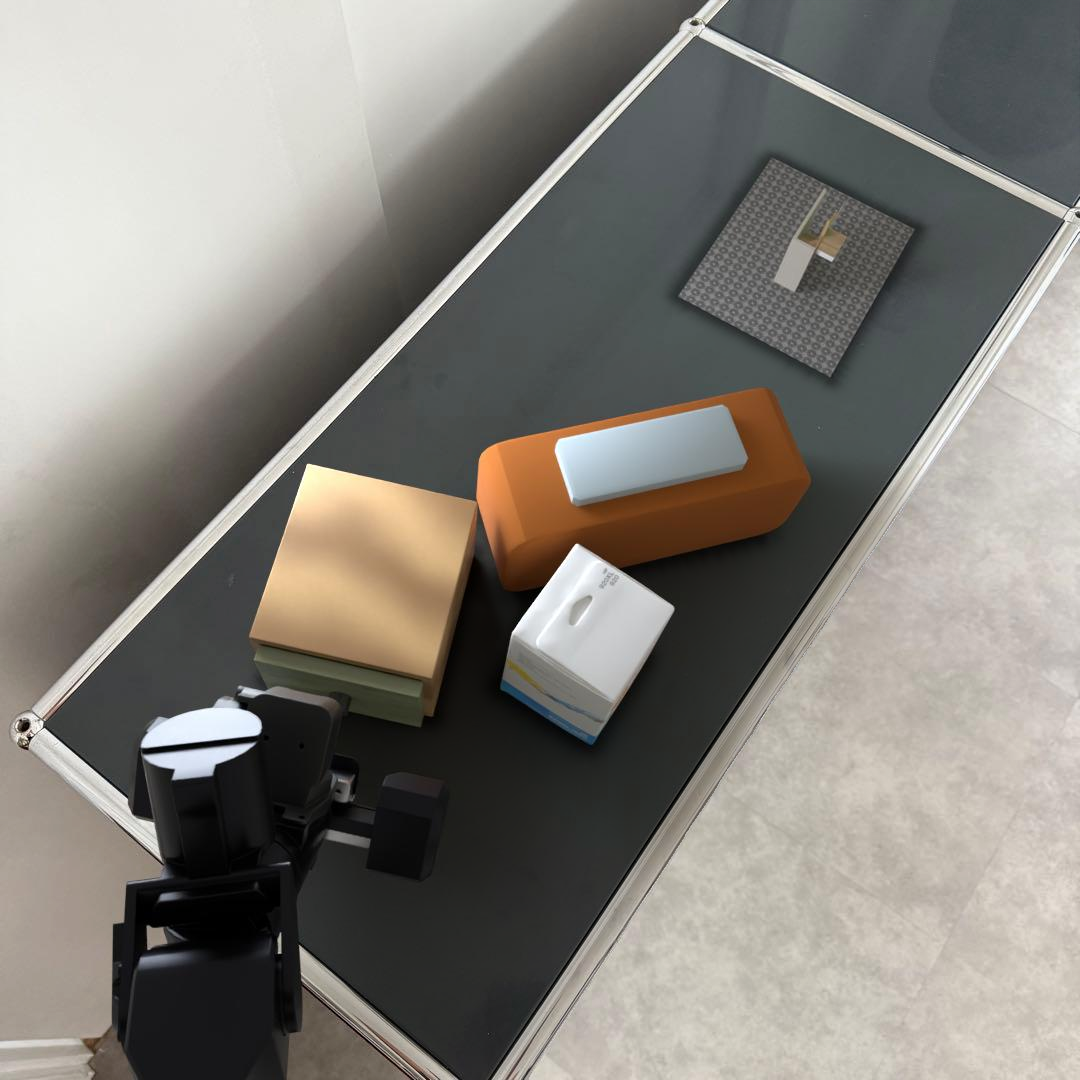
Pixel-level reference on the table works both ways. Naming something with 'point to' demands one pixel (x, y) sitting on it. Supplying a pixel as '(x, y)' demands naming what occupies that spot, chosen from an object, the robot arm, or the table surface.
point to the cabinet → (370, 576)
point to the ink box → (583, 643)
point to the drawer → (344, 684)
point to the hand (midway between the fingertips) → (326, 732)
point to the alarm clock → (640, 485)
